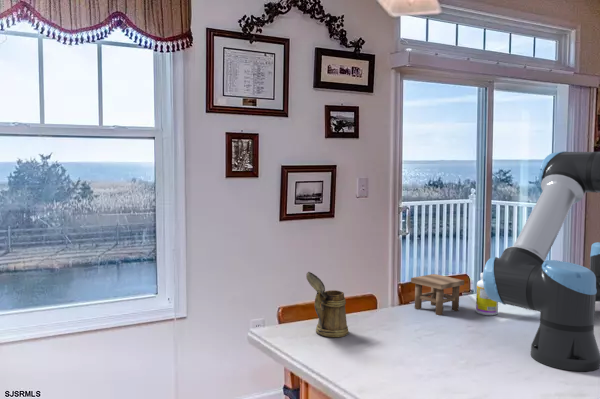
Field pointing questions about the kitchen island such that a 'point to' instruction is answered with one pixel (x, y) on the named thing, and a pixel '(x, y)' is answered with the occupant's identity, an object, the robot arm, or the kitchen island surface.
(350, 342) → the kitchen island surface
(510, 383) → the kitchen island surface
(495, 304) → the supplement bottle
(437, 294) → the stool
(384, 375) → the kitchen island surface
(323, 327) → the wooden mug
